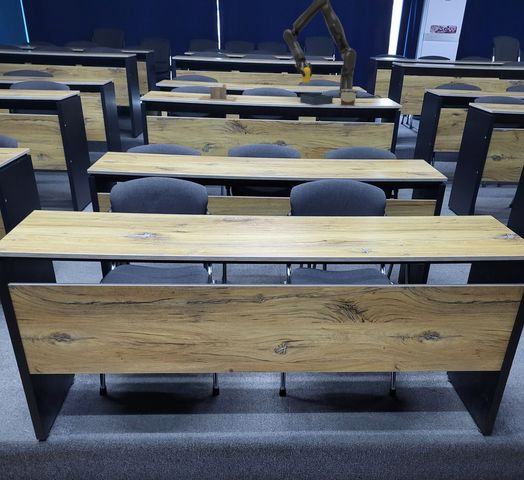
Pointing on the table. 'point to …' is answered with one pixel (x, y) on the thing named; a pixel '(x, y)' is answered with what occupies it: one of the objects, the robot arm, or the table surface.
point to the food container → (348, 97)
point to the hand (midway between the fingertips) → (307, 76)
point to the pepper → (306, 75)
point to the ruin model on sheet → (218, 94)
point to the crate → (316, 99)
